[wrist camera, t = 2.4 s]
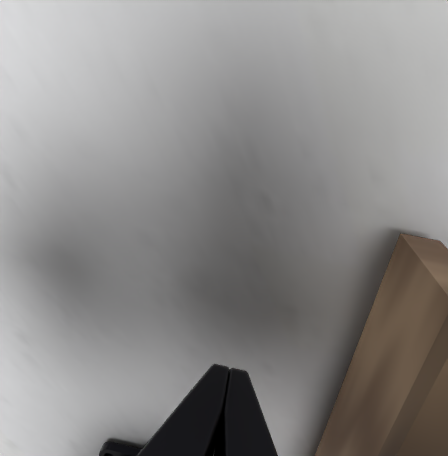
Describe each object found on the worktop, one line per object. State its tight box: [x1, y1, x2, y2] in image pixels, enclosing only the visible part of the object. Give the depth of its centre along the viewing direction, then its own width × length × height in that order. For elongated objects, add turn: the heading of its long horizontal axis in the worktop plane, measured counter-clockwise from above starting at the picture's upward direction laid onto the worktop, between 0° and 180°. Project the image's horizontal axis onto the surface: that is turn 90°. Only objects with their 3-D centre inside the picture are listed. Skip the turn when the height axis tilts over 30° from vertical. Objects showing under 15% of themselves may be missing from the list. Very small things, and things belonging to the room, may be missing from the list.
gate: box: [315, 233, 448, 456], centre depth 12 cm, size 14×2×5 cm, turn 171°
